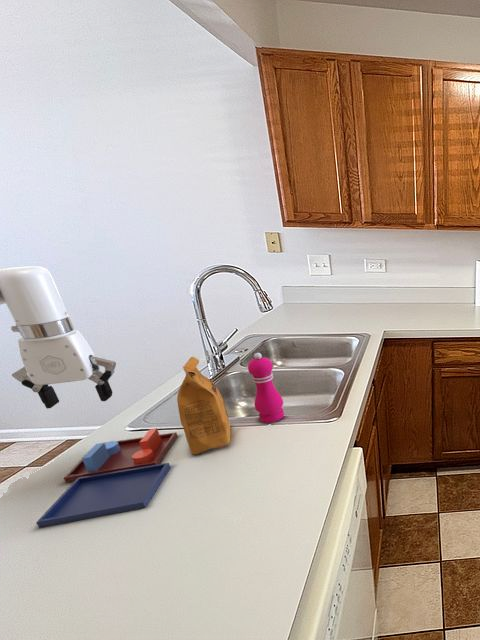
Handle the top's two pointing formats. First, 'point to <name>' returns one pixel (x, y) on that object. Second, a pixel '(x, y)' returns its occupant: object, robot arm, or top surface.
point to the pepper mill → (265, 390)
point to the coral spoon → (147, 447)
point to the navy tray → (105, 494)
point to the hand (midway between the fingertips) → (80, 401)
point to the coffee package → (202, 411)
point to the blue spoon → (100, 455)
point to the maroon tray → (124, 458)
